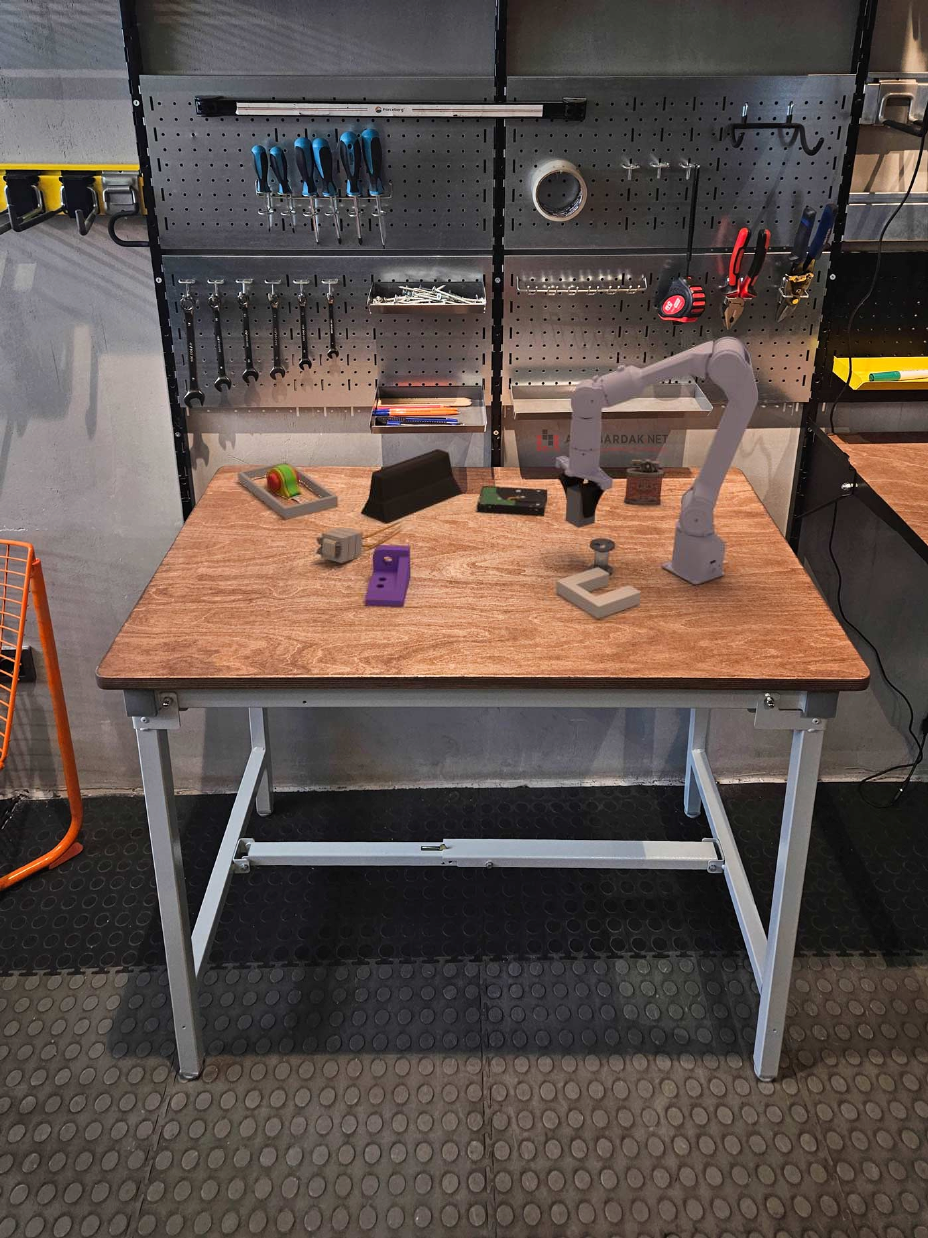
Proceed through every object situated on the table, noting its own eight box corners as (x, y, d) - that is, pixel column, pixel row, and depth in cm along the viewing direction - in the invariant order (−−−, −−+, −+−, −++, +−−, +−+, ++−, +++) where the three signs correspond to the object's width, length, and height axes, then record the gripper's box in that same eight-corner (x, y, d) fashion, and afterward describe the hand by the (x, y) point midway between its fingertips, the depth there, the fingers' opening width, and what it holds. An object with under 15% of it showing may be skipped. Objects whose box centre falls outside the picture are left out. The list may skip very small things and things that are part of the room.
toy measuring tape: (281, 481, 237) (278, 455, 234) (330, 506, 224) (328, 478, 221) (257, 488, 233) (254, 461, 230) (305, 514, 221) (303, 486, 217)
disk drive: (547, 500, 229) (481, 496, 231) (547, 488, 228) (481, 484, 229) (544, 519, 220) (476, 514, 222) (545, 507, 219) (476, 502, 220)
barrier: (436, 484, 236) (435, 443, 231) (463, 494, 231) (463, 452, 226) (359, 514, 221) (357, 470, 216) (386, 525, 216) (385, 481, 211)
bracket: (375, 576, 195) (373, 544, 192) (410, 578, 195) (409, 545, 192) (365, 606, 185) (364, 573, 182) (403, 608, 185) (402, 574, 181)
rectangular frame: (338, 506, 224) (337, 496, 223) (285, 519, 218) (284, 508, 217) (288, 471, 242) (287, 461, 241) (238, 481, 236) (237, 471, 235)
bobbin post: (618, 573, 196) (620, 545, 193) (598, 579, 194) (601, 551, 191) (601, 563, 200) (604, 536, 197) (582, 570, 197) (584, 542, 194)
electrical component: (384, 536, 219) (386, 513, 217) (407, 542, 216) (409, 519, 214) (315, 558, 199) (316, 533, 197) (340, 564, 196) (341, 539, 194)
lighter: (660, 500, 228) (664, 457, 223) (661, 506, 225) (665, 463, 220) (623, 498, 228) (627, 456, 223) (624, 504, 225) (628, 462, 220)
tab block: (594, 523, 197) (596, 489, 194) (578, 527, 195) (580, 493, 192) (581, 516, 200) (583, 482, 197) (565, 520, 198) (567, 487, 195)
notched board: (639, 604, 185) (641, 591, 184) (597, 618, 181) (598, 606, 179) (597, 578, 194) (598, 567, 193) (556, 592, 189) (556, 580, 188)
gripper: (544, 438, 193) (541, 504, 200) (593, 461, 183) (589, 530, 190) (573, 431, 197) (569, 496, 204) (623, 453, 186) (617, 521, 193)
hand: (580, 512), depth 197 cm, fingers closed on tab block, 4 cm apart
